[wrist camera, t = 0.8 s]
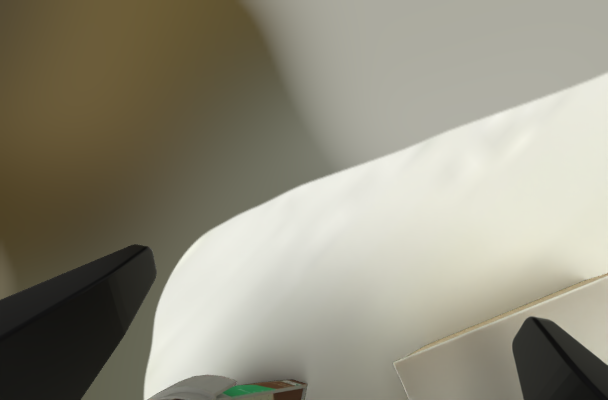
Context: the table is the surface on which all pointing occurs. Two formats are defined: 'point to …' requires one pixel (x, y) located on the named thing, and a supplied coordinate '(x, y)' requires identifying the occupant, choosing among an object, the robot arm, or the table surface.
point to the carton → (503, 347)
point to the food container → (231, 390)
